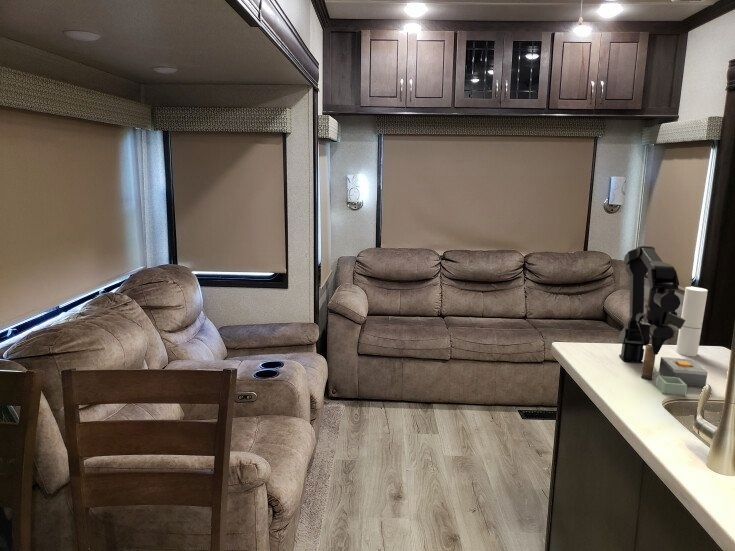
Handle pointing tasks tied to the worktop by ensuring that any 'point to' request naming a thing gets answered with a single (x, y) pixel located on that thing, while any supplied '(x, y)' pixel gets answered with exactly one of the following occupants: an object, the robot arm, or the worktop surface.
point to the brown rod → (648, 363)
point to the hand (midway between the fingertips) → (650, 349)
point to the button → (683, 363)
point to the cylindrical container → (691, 321)
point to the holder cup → (671, 385)
